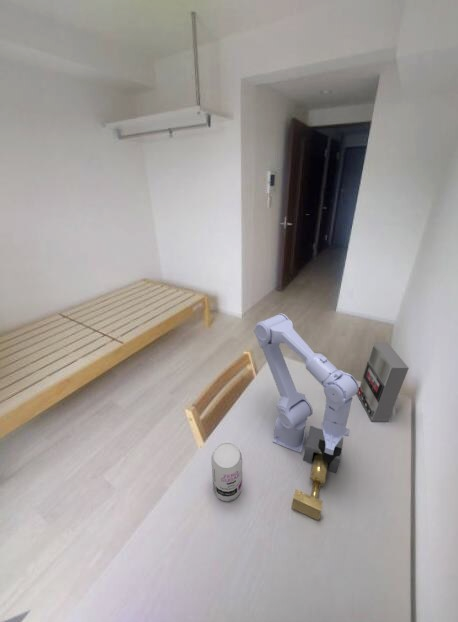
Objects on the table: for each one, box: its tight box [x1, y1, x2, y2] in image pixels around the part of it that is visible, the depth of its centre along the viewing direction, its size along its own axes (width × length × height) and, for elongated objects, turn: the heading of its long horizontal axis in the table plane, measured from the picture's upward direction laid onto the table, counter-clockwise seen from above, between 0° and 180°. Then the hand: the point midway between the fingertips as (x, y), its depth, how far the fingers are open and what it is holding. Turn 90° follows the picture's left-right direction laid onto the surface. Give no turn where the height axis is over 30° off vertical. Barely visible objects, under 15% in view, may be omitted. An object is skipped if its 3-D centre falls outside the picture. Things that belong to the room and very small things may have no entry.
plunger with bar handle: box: [291, 454, 328, 521], centre depth 76 cm, size 7×15×5 cm, turn 155°
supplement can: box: [210, 442, 243, 502], centre depth 74 cm, size 8×8×15 cm
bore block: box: [302, 425, 344, 475], centre depth 84 cm, size 10×8×7 cm
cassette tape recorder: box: [356, 342, 410, 423], centre depth 96 cm, size 14×6×25 cm, turn 178°
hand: (329, 449), depth 77 cm, fingers open, 7 cm apart
